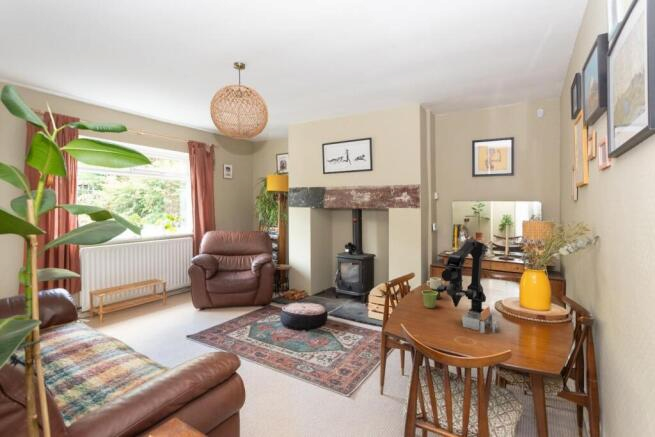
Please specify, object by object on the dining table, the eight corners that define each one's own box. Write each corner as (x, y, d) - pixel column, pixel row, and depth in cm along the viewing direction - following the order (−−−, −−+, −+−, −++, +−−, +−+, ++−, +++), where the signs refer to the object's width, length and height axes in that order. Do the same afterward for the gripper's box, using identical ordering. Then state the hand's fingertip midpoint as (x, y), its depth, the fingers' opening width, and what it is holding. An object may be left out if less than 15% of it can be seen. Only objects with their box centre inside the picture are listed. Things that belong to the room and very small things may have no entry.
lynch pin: (464, 320, 175) (464, 312, 174) (491, 327, 166) (491, 318, 166) (461, 323, 171) (461, 315, 171) (488, 329, 163) (488, 321, 162)
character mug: (443, 297, 217) (444, 277, 217) (444, 300, 211) (444, 280, 210) (426, 295, 220) (426, 276, 220) (426, 299, 214) (426, 279, 213)
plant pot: (427, 309, 194) (427, 295, 193) (418, 304, 203) (418, 291, 202) (441, 308, 196) (441, 293, 196) (432, 303, 205) (432, 289, 205)
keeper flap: (491, 316, 169) (489, 316, 170) (489, 306, 169) (487, 306, 170) (484, 323, 160) (482, 323, 161) (482, 312, 160) (480, 312, 161)
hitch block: (470, 319, 177) (470, 309, 177) (500, 326, 168) (500, 315, 167) (461, 327, 166) (461, 317, 166) (492, 335, 157) (492, 324, 157)
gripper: (433, 278, 174) (432, 307, 175) (469, 283, 161) (469, 315, 162) (441, 274, 182) (441, 301, 183) (476, 279, 170) (476, 309, 171)
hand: (456, 306), depth 175 cm, fingers closed
